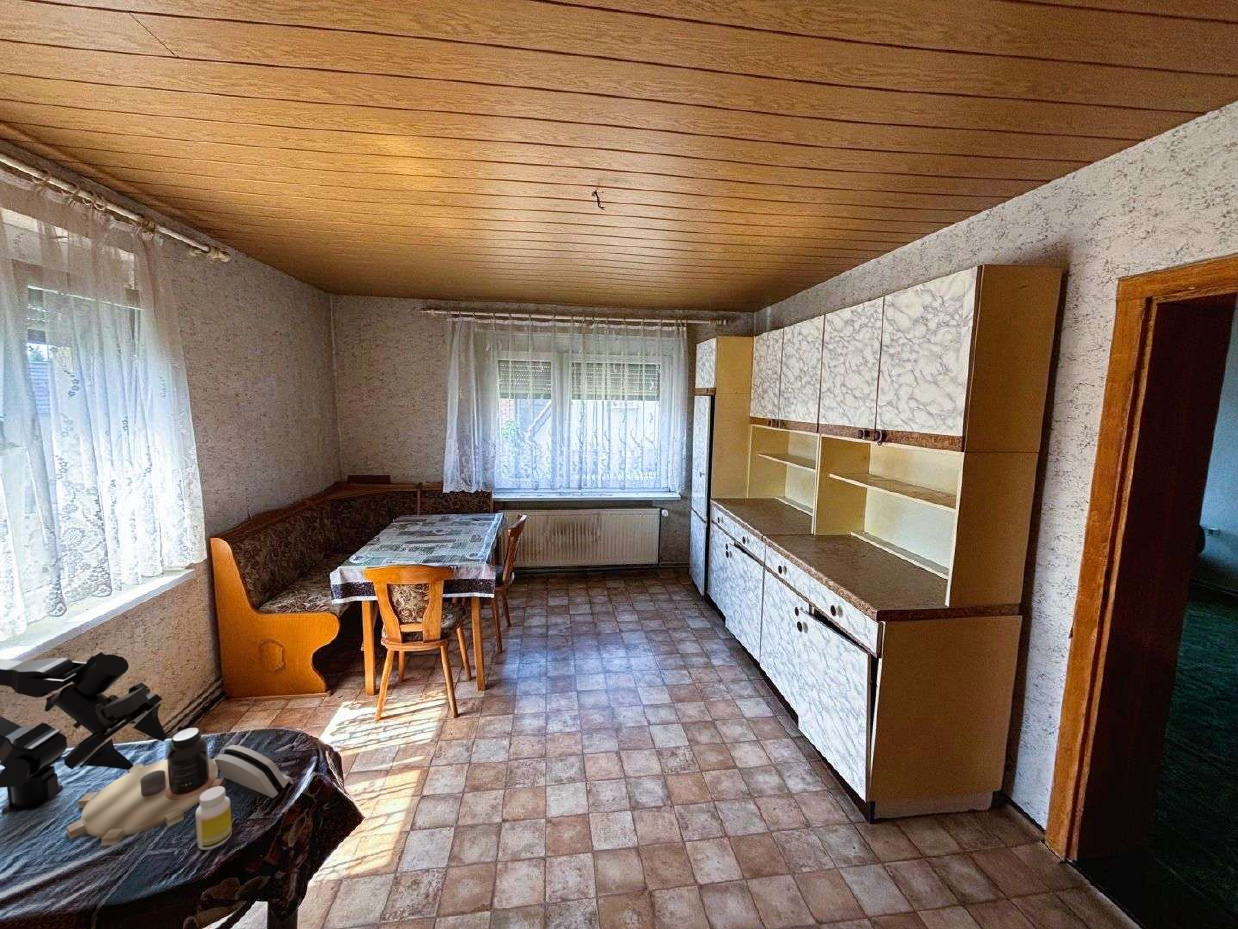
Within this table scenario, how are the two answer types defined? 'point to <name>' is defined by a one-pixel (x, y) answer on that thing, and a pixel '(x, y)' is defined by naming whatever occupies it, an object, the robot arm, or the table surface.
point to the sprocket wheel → (137, 803)
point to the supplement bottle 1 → (187, 761)
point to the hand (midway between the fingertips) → (149, 753)
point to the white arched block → (251, 770)
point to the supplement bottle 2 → (213, 818)
